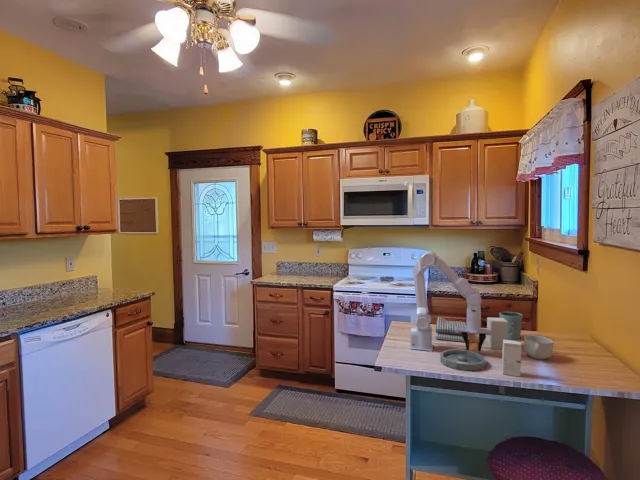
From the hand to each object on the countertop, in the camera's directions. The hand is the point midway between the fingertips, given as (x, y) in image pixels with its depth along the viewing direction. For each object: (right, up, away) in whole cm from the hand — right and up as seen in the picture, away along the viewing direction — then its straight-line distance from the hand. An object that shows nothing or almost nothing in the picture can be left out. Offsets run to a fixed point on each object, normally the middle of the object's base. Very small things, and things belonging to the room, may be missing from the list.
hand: (473, 350), depth 161 cm
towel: (-1, -1, +25) cm, 25 cm away
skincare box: (+5, -3, -22) cm, 23 cm away
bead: (0, -1, 0) cm, 1 cm away
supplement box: (+15, -1, +9) cm, 17 cm away
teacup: (+24, -2, -6) cm, 25 cm away
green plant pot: (+27, -1, +21) cm, 35 cm away
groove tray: (-9, -2, -11) cm, 14 cm away
